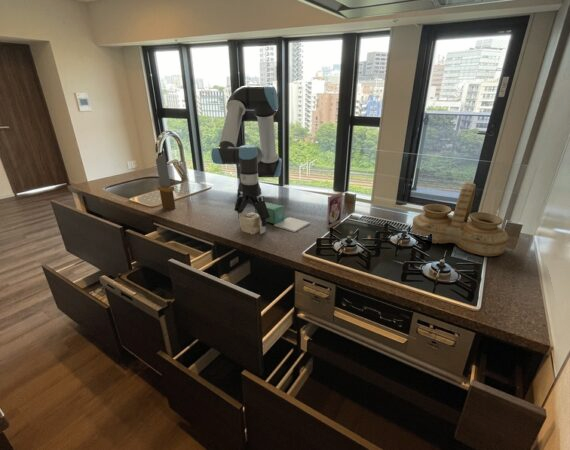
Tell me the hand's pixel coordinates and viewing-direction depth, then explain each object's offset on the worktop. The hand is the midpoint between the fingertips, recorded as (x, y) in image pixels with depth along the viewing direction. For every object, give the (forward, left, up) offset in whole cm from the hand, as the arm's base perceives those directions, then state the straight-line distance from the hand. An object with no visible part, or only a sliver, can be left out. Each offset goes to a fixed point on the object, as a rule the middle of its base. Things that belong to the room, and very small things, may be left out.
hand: (252, 229), depth 135 cm
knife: (+5, -58, -1) cm, 58 cm away
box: (-14, -1, 0) cm, 14 cm away
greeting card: (-28, +24, -1) cm, 37 cm away
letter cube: (0, 0, 0) cm, 0 cm away
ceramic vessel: (-41, +75, -1) cm, 85 cm away
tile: (-16, +11, 0) cm, 19 cm away
